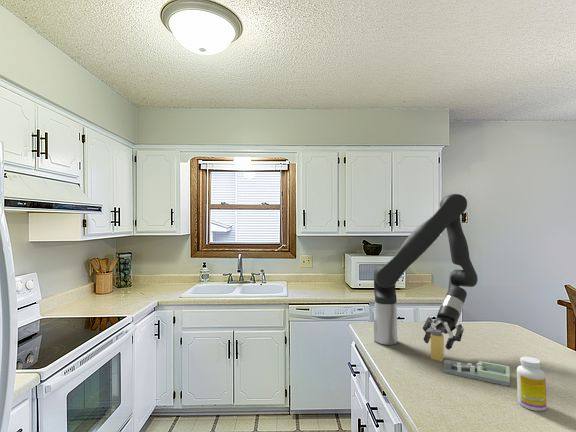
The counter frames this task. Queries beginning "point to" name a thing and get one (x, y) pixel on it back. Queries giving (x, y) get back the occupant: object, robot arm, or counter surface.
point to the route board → (480, 371)
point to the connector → (437, 345)
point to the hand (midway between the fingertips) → (436, 345)
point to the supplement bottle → (531, 384)
